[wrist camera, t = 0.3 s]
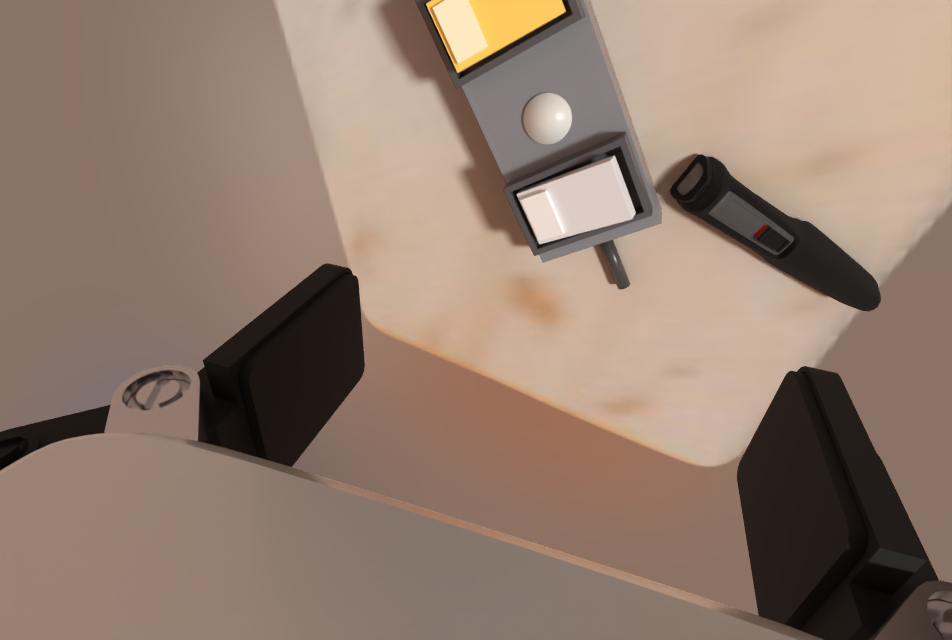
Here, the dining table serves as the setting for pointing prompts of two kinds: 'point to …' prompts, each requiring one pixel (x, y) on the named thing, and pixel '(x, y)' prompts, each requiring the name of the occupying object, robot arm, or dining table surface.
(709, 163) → the electric trimmer
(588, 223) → the white rocker switch
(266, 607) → the robot arm
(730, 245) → the dining table surface
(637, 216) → the power strip
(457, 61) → the amber rocker
